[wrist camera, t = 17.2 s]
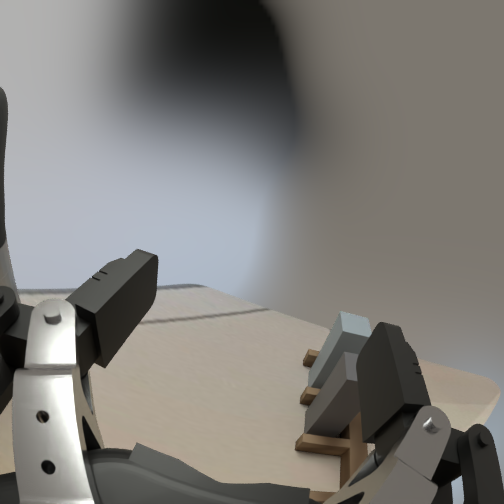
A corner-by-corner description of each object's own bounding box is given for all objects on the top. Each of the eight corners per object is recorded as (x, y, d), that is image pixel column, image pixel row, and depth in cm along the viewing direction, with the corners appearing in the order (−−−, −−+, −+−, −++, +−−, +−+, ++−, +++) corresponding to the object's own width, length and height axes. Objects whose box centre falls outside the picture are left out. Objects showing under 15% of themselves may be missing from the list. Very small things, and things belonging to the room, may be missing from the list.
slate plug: (307, 392, 36) (342, 330, 31) (308, 372, 40) (340, 311, 34) (333, 397, 36) (372, 338, 30) (333, 377, 39) (368, 318, 34)
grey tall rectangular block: (303, 435, 29) (346, 379, 24) (305, 411, 33) (344, 351, 28) (333, 440, 29) (382, 385, 24) (333, 416, 32) (376, 358, 27)
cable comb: (287, 503, 20) (295, 498, 19) (303, 359, 42) (308, 349, 41) (357, 507, 20) (368, 501, 19) (351, 370, 41) (358, 360, 40)
